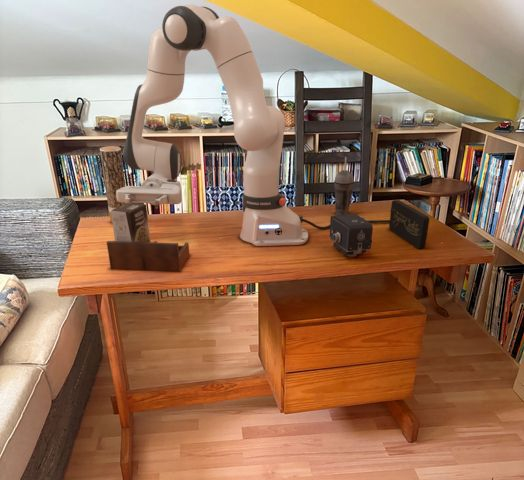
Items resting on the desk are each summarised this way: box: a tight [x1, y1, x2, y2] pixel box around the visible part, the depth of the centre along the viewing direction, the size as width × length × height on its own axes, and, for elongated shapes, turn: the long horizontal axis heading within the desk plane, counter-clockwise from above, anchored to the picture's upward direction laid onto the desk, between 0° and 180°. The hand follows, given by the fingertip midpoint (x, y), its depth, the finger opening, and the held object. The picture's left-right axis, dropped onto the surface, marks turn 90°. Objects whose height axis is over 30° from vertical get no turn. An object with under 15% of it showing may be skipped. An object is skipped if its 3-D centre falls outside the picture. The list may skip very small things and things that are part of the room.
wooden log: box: [99, 145, 126, 224], centre depth 186 cm, size 7×7×25 cm
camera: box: [328, 213, 374, 258], centre depth 162 cm, size 11×11×15 cm
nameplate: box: [388, 199, 430, 249], centre depth 173 cm, size 21×2×10 cm, turn 15°
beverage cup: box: [333, 156, 355, 215], centre depth 195 cm, size 7×7×20 cm
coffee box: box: [111, 203, 151, 242], centre depth 155 cm, size 9×6×16 cm
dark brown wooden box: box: [106, 240, 190, 273], centre depth 156 cm, size 20×13×8 cm, turn 84°
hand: (142, 202), depth 163 cm, fingers open, 8 cm apart
